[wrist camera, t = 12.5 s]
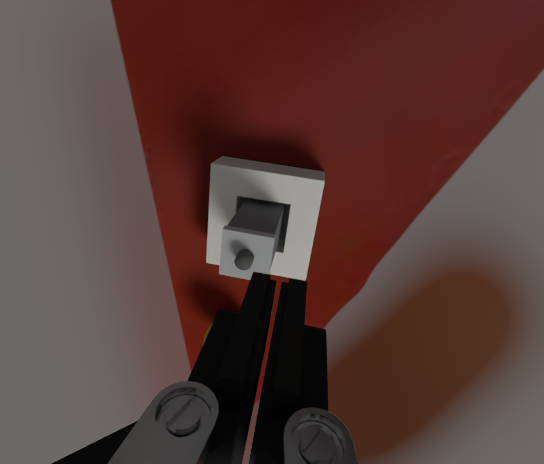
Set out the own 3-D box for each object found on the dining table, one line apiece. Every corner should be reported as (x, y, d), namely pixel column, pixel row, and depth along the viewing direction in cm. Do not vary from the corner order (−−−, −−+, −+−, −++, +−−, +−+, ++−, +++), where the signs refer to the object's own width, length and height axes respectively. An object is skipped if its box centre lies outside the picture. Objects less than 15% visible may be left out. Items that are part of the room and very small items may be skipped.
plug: (248, 193, 35) (218, 233, 25) (286, 200, 35) (272, 243, 25) (244, 229, 37) (215, 280, 27) (281, 235, 37) (265, 289, 27)
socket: (222, 156, 35) (210, 163, 32) (324, 171, 34) (324, 181, 31) (216, 246, 40) (206, 262, 36) (307, 262, 39) (305, 280, 35)
